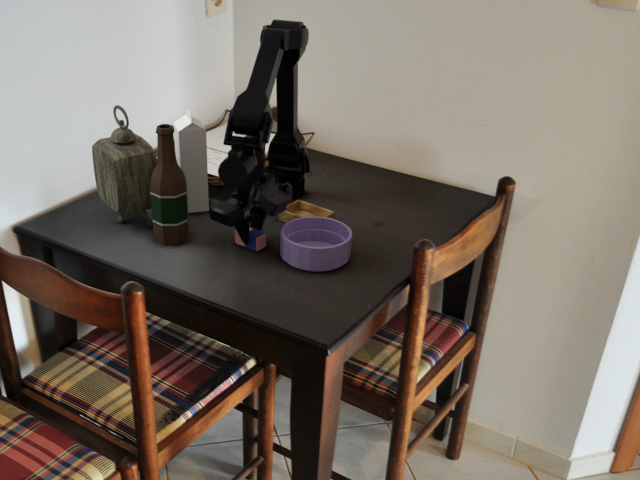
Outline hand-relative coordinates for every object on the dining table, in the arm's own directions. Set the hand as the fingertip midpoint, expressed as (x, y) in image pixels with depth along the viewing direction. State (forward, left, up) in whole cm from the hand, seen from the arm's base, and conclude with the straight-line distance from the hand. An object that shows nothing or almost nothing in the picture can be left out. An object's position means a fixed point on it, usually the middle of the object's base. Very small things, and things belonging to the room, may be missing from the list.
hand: (250, 240), depth 157 cm
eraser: (0, 0, -1) cm, 1 cm away
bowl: (+13, +5, -1) cm, 14 cm away
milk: (-22, +6, -1) cm, 23 cm away
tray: (+2, +17, -1) cm, 17 cm away
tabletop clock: (-28, -8, -1) cm, 29 cm away
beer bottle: (-15, -8, -1) cm, 17 cm away
